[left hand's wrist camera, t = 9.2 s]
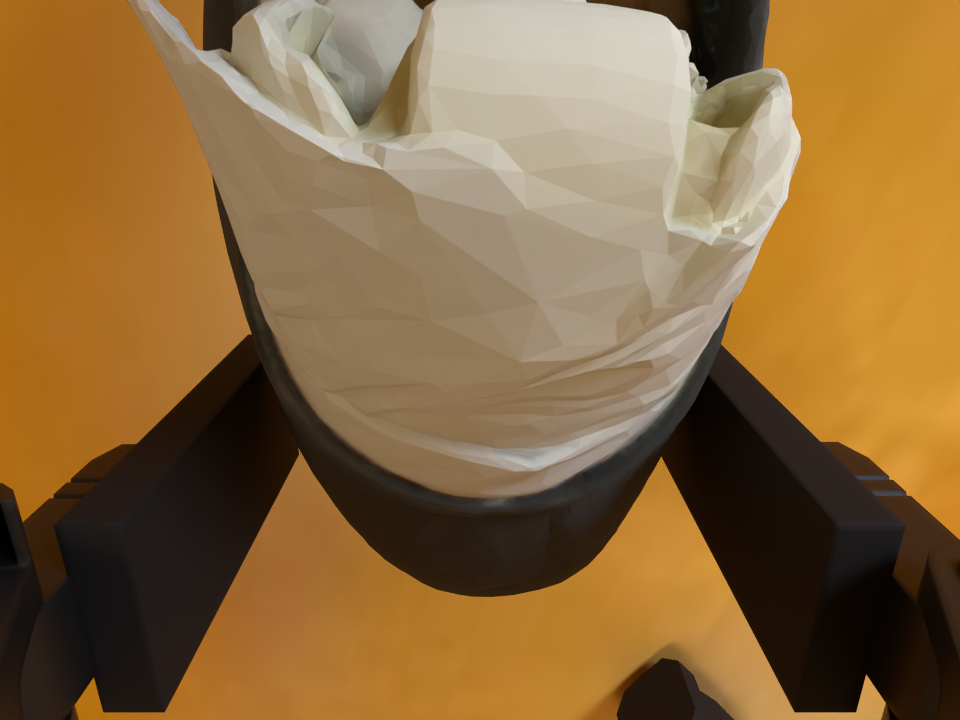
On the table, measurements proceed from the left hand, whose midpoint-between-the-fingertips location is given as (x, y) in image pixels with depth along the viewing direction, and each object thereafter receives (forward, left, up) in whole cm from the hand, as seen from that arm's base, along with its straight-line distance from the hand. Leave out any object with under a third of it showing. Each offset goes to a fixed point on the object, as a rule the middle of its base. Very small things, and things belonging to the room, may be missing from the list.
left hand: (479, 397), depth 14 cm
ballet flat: (+8, +2, -1) cm, 8 cm away
